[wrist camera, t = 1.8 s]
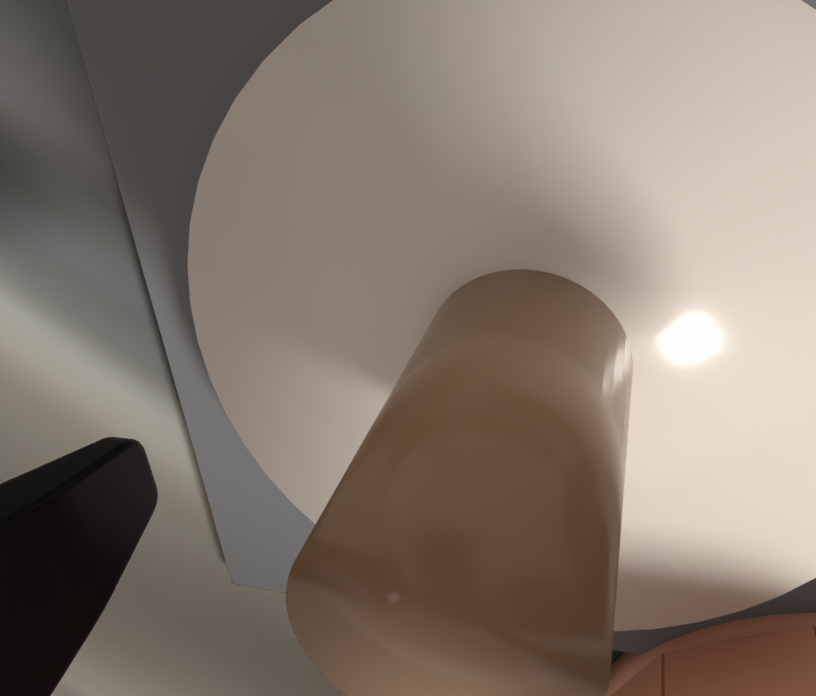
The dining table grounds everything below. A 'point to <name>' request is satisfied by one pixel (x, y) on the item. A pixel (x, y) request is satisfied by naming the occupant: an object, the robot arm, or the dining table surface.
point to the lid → (521, 326)
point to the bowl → (726, 661)
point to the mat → (169, 239)
